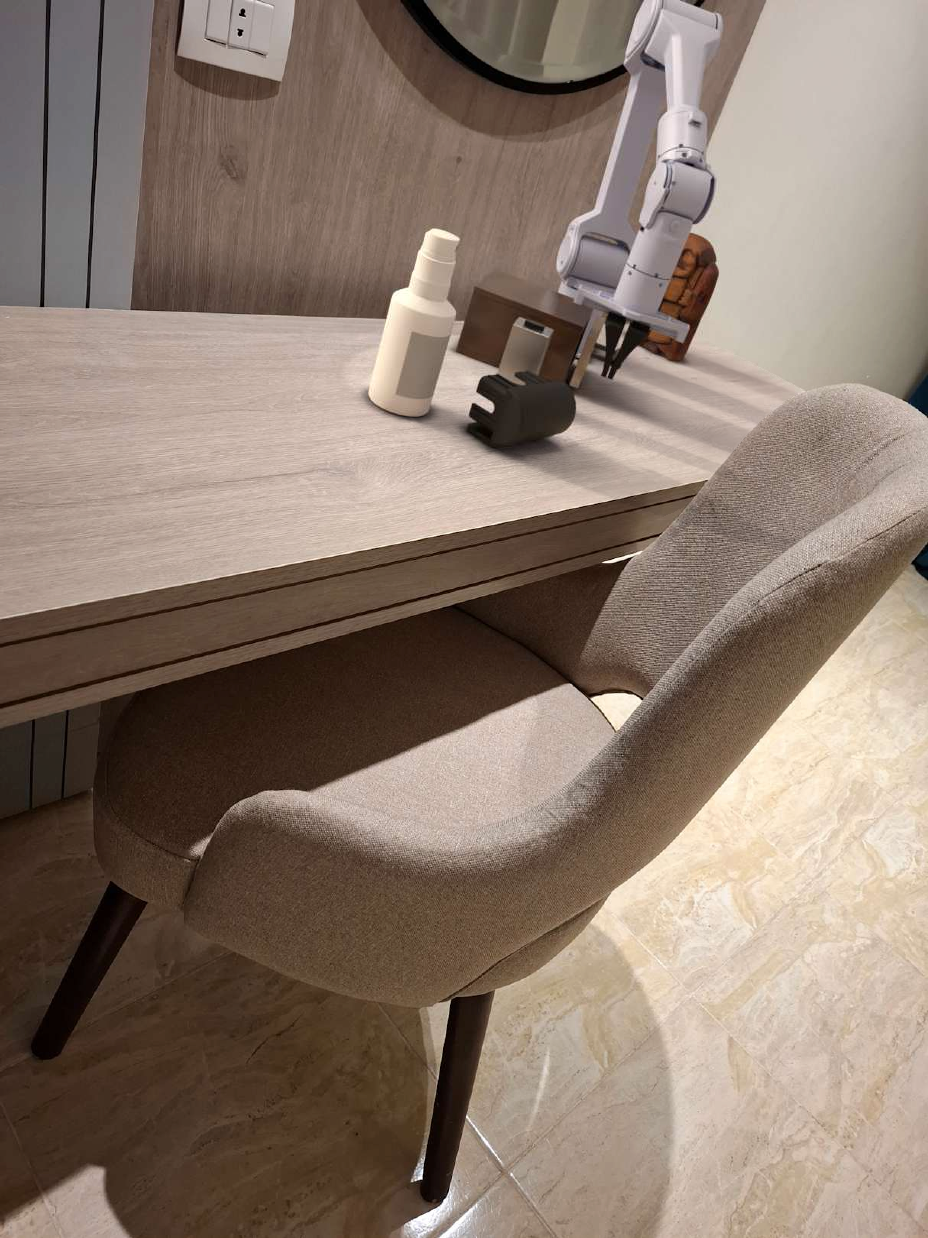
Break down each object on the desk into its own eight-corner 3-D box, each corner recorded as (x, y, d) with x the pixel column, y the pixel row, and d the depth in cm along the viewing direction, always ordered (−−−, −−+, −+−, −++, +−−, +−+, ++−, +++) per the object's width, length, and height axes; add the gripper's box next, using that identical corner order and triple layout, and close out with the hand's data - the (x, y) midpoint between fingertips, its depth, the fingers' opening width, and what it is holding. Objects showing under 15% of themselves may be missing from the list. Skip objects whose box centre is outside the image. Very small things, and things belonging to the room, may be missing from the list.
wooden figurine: (614, 333, 149) (658, 220, 139) (633, 331, 154) (677, 222, 144) (673, 364, 144) (723, 249, 134) (691, 361, 149) (740, 250, 139)
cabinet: (572, 365, 128) (594, 305, 123) (560, 390, 117) (583, 326, 113) (476, 329, 128) (494, 268, 124) (455, 351, 118) (474, 286, 113)
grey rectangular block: (497, 382, 113) (520, 312, 108) (531, 395, 113) (555, 325, 108) (491, 391, 110) (514, 319, 105) (525, 404, 109) (550, 333, 104)
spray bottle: (420, 424, 95) (469, 251, 85) (359, 402, 95) (402, 227, 85) (434, 404, 101) (482, 240, 91) (377, 383, 101) (418, 217, 91)
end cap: (509, 461, 94) (530, 401, 90) (461, 429, 97) (479, 370, 94) (563, 449, 101) (585, 393, 98) (517, 419, 104) (536, 364, 101)
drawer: (615, 375, 127) (634, 329, 123) (608, 399, 117) (628, 349, 113) (498, 331, 127) (513, 283, 124) (480, 351, 118) (496, 300, 114)
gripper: (588, 255, 106) (550, 364, 114) (704, 297, 106) (658, 404, 113) (595, 246, 112) (557, 350, 120) (705, 286, 112) (660, 388, 119)
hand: (607, 375), depth 117 cm, fingers closed
